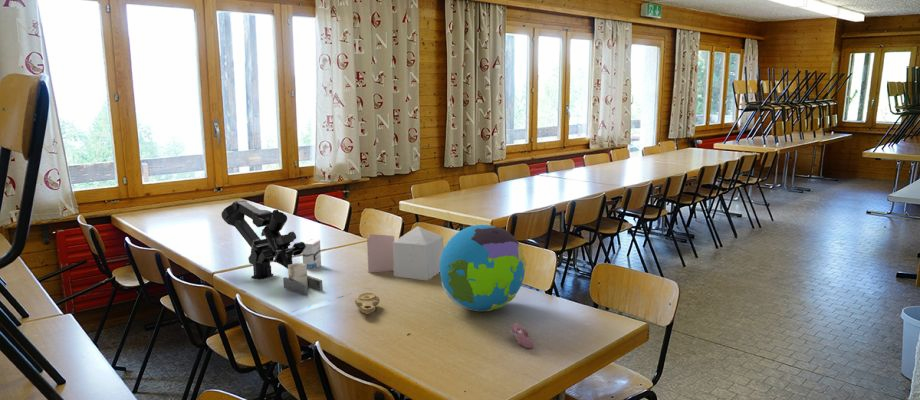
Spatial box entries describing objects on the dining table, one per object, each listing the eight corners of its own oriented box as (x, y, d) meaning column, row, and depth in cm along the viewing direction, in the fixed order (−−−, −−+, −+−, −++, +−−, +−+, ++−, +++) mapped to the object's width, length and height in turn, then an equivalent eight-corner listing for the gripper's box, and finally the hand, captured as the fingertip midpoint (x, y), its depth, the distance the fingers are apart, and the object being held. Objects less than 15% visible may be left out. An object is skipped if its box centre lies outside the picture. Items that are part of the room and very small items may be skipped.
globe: (469, 332, 195) (469, 241, 189) (424, 305, 220) (422, 223, 214) (542, 314, 210) (544, 228, 205) (492, 290, 235) (492, 213, 230)
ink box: (313, 270, 262) (312, 244, 260) (302, 270, 263) (301, 243, 260) (321, 265, 270) (320, 239, 268) (311, 264, 271) (309, 238, 269)
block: (289, 287, 237) (287, 264, 235) (300, 284, 240) (299, 262, 239) (296, 290, 234) (295, 267, 232) (307, 286, 237) (306, 264, 236)
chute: (283, 290, 237) (283, 277, 236) (301, 285, 243) (300, 273, 242) (305, 298, 228) (304, 285, 227) (322, 292, 234) (322, 280, 233)
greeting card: (395, 269, 263) (395, 235, 260) (388, 274, 256) (387, 239, 253) (372, 267, 266) (370, 233, 263) (363, 272, 259) (362, 237, 257)
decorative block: (393, 276, 253) (392, 229, 250) (410, 266, 268) (409, 221, 264) (428, 280, 247) (427, 232, 244) (444, 269, 262) (443, 224, 258)
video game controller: (516, 341, 192) (506, 322, 191) (529, 334, 192) (519, 316, 191) (522, 354, 182) (512, 335, 181) (536, 347, 182) (525, 328, 181)
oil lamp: (365, 320, 206) (364, 306, 205) (344, 308, 217) (344, 295, 216) (392, 313, 213) (391, 299, 212) (371, 302, 224) (370, 289, 223)
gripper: (259, 230, 232) (278, 263, 227) (302, 222, 246) (320, 253, 240) (250, 247, 238) (268, 280, 233) (292, 238, 252) (309, 268, 247)
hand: (292, 270), depth 238 cm, fingers closed
